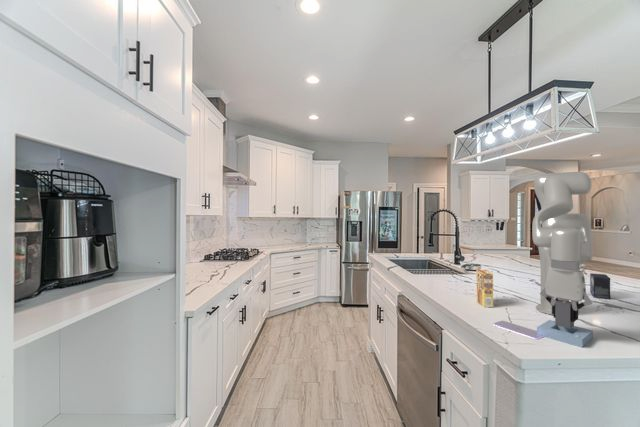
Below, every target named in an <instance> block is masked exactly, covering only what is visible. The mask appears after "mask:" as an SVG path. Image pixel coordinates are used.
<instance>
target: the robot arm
mask: <svg viewBox="0 0 640 427" xmlns="http://www.w3.org/2000/svg"><path fill="white" fill-rule="evenodd" d="M533 188H534V193H535V196H536V197H537V200H538V202H539V204H540V209H539V210H538V212H537V213H536V214H535V216H534V217H533V220H532V228H531V229H532V232H531V233H532V234H531V235H532V242H533V244H534V245H535V246H536V247H537V248H538V255H539V261H540V262H539V263H540V265H539V266H540V292H539V295H540V304H537V305H536V306H535V309H536V310H537V311H539V312H541V313H543V314H547V315H552V316H553V319H555V301H557V300H564V301H569V302H571V303H572V310H571V322H574V323H575V322H576V321H578V320H579V310H580V309H582V308H584V307H587V306H591V305H592V304H593V301H592V300H591V298H590V297H589V295H587V288H586V287H587V286H586V280H585V279H586V277H585V273H584V271H583V270H581V269H586V264H585V263H584V262H586V263H587V262H589V261H591V260H592V259H593V256H594V246H593V234H592V233H593V232H592V225H591V219H590V218H589V217H588V215H586V214H584V213H571V211H572V210H573V209H574V200H573V196H574V195H587V194H589V193H590V191H591V189H592V179H591V177H590V176H589V174H588V173H586V172H584V171H568V172H567V171H566V172H549V173H542V174H539V175H537V176H536V177H535V178H534V180H533ZM582 262H583V263H582ZM583 300H584V301H583Z"/></svg>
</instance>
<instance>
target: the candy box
mask: <svg viewBox="0 0 640 427" xmlns="http://www.w3.org/2000/svg"><path fill="white" fill-rule="evenodd" d="M476 301H477V303H478V304H479V305H481V306H482V307H484V308H494V274H493V272H492V271H489V270H488V269H482V268H481V269H476Z"/></svg>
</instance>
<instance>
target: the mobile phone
mask: <svg viewBox="0 0 640 427" xmlns="http://www.w3.org/2000/svg"><path fill="white" fill-rule="evenodd" d="M492 326H493V327H495V328H499V329H502V330H504V331H508V332H511V333H514V334H517V335H519V336H523V337H526V338H529V339H532V340H535V341H536V340H540V339H543V338H544V337H545V336H544V335H542V334H538V333H537V330H536V329H532V328H528V327H525V326H521V325H519V324H516V323H512V322H509V321H505V320H499V321H497V322H494V323H492ZM545 338H546V337H545Z"/></svg>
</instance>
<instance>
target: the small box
mask: <svg viewBox="0 0 640 427" xmlns="http://www.w3.org/2000/svg"><path fill="white" fill-rule="evenodd" d="M589 286H590V289H589V291H590V294H591V296H592V297H593V298H595V299H604V300H611V278H610V277H609V275H607V274H603V273H591V272H590V274H589Z"/></svg>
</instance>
